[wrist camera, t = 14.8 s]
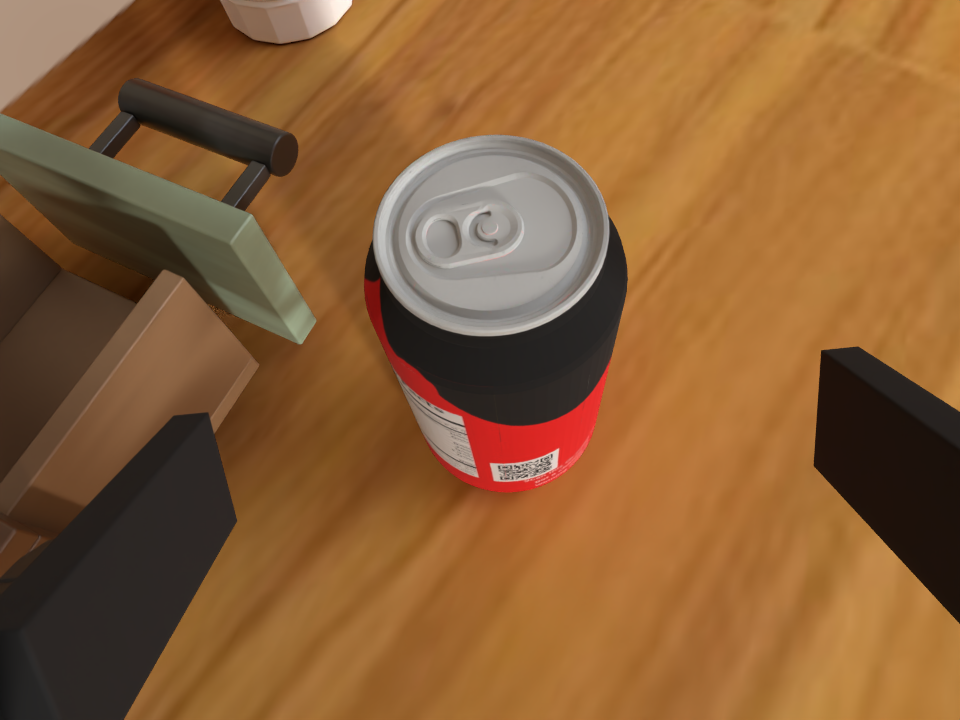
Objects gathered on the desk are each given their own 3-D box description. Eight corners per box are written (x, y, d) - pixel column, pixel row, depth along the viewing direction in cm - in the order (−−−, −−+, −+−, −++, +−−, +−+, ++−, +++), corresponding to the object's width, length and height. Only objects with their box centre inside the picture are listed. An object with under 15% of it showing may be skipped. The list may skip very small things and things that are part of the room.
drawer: (155, 144, 32) (61, 11, 25) (376, 229, 29) (332, 104, 22) (-169, 533, 25) (-405, 485, 19) (77, 694, 22) (-103, 700, 16)
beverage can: (614, 480, 25) (676, 324, 14) (438, 516, 25) (362, 388, 14) (571, 325, 27) (595, 90, 16) (412, 356, 27) (331, 143, 16)
